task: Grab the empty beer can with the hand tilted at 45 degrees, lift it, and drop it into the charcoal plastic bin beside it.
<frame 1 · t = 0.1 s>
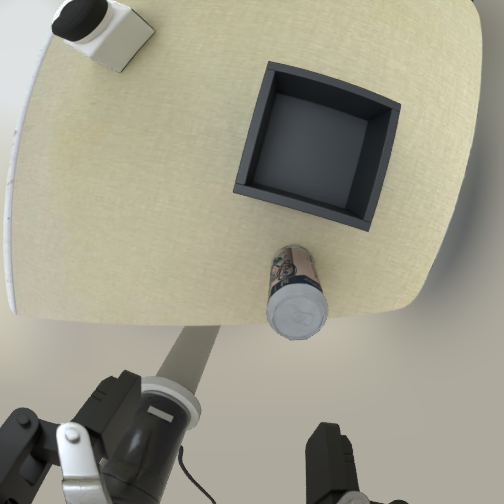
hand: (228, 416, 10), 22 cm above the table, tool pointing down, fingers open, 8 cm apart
medicine bottle: (123, 43, 25), on the table
beer can: (292, 264, 32), on the table
bin: (311, 149, 28), on the table
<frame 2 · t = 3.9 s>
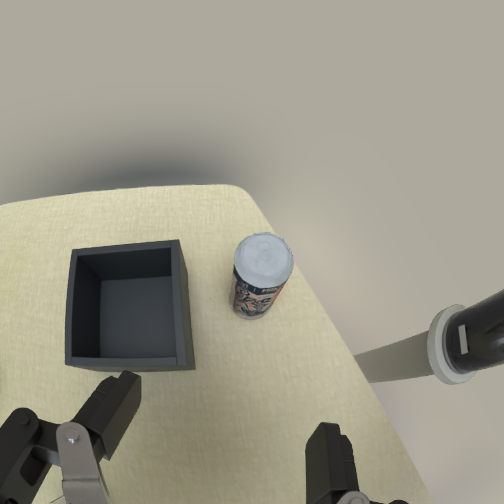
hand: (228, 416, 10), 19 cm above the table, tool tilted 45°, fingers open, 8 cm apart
beer can: (250, 300, 32), on the table
bin: (141, 321, 29), on the table
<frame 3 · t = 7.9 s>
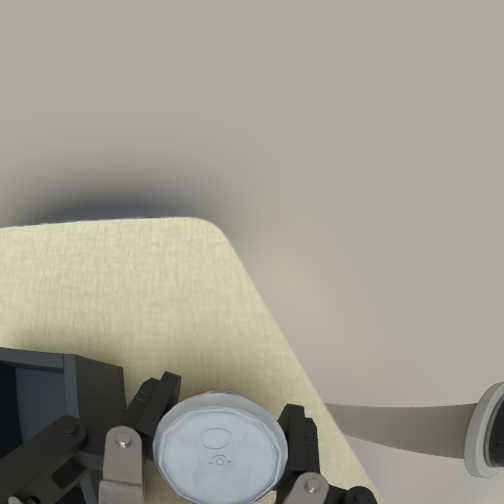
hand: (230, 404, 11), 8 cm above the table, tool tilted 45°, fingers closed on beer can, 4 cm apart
beer can: (220, 419, 18), on the table, touching gripper
bin: (67, 431, 15), on the table
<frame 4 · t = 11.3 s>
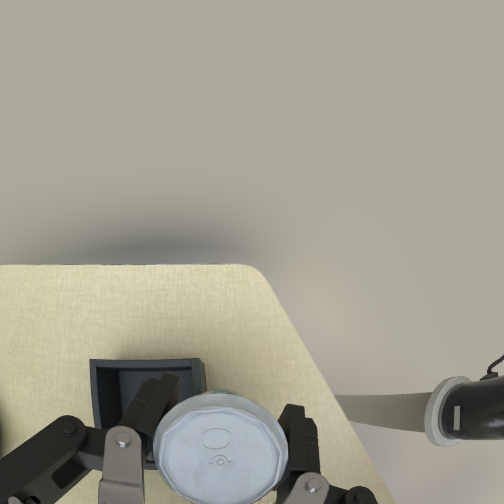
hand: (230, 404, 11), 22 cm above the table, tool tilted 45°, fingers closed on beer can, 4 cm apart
beer can: (220, 419, 18), point 14 cm above the table, touching gripper
bin: (162, 410, 28), on the table
when the fingers open (14 cm above the table, at t = 14.8 s): beer can drops 4 cm, resting on bin.
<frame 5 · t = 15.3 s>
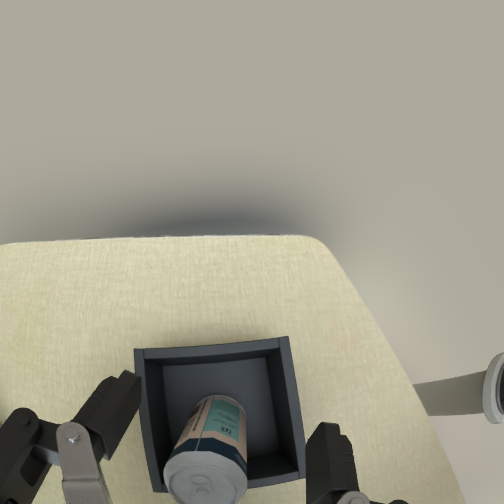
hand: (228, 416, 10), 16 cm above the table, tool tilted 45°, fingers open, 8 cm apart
beer can: (220, 415, 22), point 1 cm above the table, touching bin
bin: (220, 412, 24), on the table
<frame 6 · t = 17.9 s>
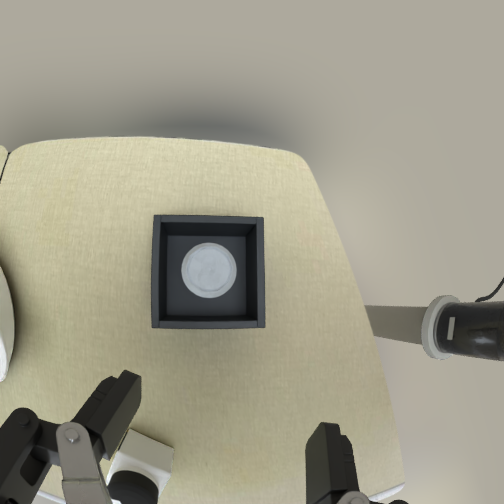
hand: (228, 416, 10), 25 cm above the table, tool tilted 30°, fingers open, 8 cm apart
medicine bottle: (144, 453, 30), on the table
beer can: (206, 277, 35), point 1 cm above the table, touching bin
bin: (206, 275, 36), on the table
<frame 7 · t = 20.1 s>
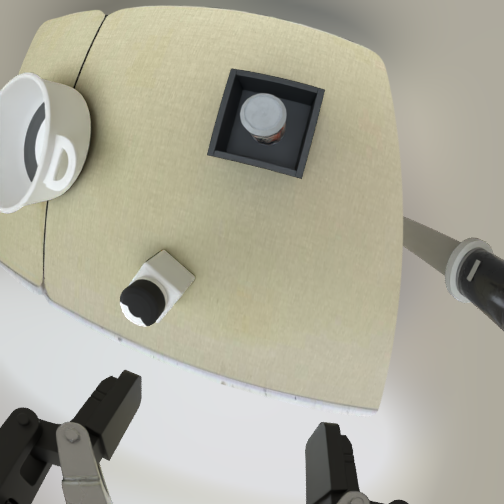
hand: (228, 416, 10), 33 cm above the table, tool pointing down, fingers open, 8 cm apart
medicine bottle: (168, 276, 46), on the table
pot: (58, 142, 41), on the table
beer can: (268, 129, 37), point 1 cm above the table, touching bin
bin: (268, 129, 37), on the table
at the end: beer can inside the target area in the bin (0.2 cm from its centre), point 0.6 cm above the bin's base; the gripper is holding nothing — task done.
